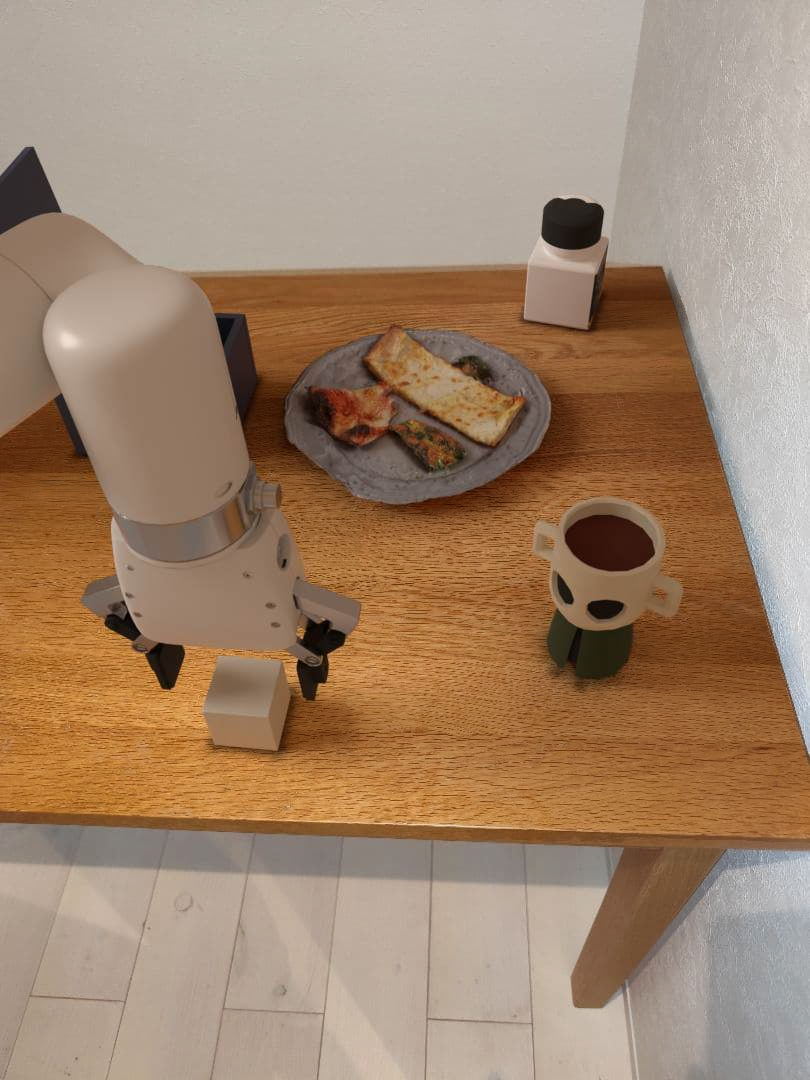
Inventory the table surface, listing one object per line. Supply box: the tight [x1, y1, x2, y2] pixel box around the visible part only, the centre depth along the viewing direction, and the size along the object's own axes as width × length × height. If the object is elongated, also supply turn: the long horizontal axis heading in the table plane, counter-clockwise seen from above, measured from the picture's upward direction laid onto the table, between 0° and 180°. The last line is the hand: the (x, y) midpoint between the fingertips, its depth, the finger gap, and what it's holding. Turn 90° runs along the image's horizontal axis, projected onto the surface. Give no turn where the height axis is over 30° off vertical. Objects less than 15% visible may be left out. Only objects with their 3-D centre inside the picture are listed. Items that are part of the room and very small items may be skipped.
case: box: [53, 312, 259, 456], centre depth 85 cm, size 15×13×8 cm
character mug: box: [531, 496, 684, 681], centre depth 63 cm, size 11×7×13 cm, turn 55°
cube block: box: [201, 655, 292, 751], centre depth 63 cm, size 5×5×5 cm
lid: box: [0, 145, 63, 235], centre depth 77 cm, size 15×13×1 cm
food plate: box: [282, 322, 552, 505], centre depth 84 cm, size 25×23×4 cm
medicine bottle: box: [523, 194, 610, 331], centre depth 93 cm, size 7×7×12 cm
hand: (243, 677), depth 60 cm, fingers open, 9 cm apart
